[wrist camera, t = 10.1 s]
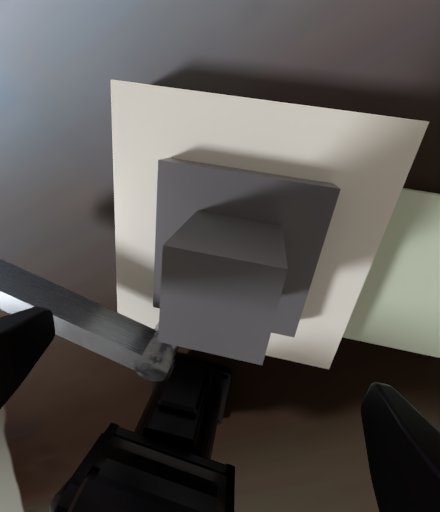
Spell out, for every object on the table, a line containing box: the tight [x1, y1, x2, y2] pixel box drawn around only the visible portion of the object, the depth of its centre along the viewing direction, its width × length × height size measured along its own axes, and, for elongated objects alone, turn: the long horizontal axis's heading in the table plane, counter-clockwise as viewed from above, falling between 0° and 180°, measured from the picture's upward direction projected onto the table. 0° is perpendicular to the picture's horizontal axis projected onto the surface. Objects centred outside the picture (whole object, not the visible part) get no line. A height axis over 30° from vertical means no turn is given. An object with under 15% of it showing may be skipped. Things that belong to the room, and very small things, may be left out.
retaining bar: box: [0, 259, 179, 382], centre depth 16 cm, size 13×2×4 cm, turn 67°
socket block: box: [111, 80, 429, 369], centre depth 16 cm, size 14×14×3 cm
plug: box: [153, 158, 341, 365], centre depth 13 cm, size 8×8×9 cm
